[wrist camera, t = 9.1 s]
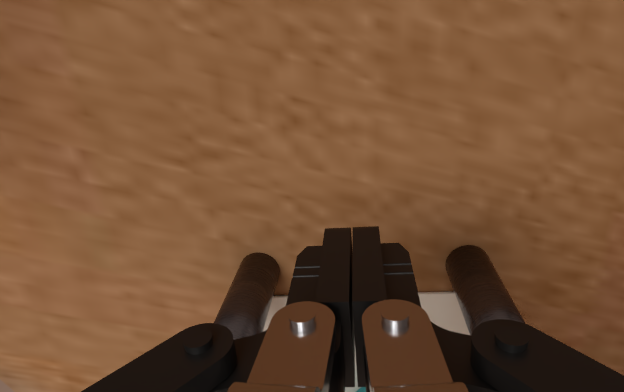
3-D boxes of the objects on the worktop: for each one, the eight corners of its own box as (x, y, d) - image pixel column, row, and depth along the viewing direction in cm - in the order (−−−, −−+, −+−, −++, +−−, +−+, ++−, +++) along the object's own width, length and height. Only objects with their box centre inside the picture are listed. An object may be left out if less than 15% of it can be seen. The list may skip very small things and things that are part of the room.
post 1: (277, 252, 28) (244, 350, 20) (281, 286, 29) (252, 394, 21) (237, 253, 29) (189, 350, 20) (243, 287, 29) (199, 394, 21)
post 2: (490, 244, 27) (551, 347, 18) (487, 281, 28) (544, 394, 19) (446, 246, 27) (486, 348, 19) (445, 282, 28) (483, 394, 20)
